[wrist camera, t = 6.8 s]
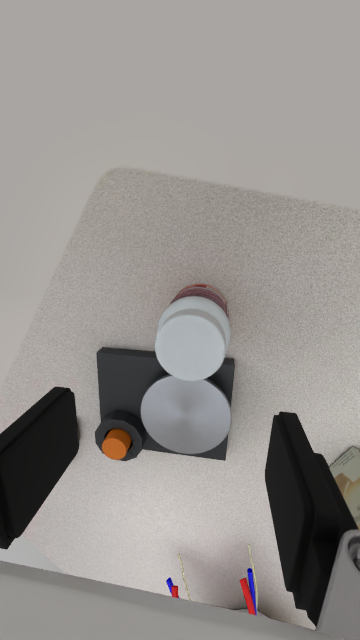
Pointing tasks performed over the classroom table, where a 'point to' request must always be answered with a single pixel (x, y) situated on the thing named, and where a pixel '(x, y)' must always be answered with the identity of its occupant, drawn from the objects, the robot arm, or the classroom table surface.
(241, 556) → the classroom table surface
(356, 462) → the cosmetic box
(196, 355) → the pill bottle
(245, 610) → the anatomical skull model
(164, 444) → the weighing pan
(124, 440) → the tare button
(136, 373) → the scale
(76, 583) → the robot arm
